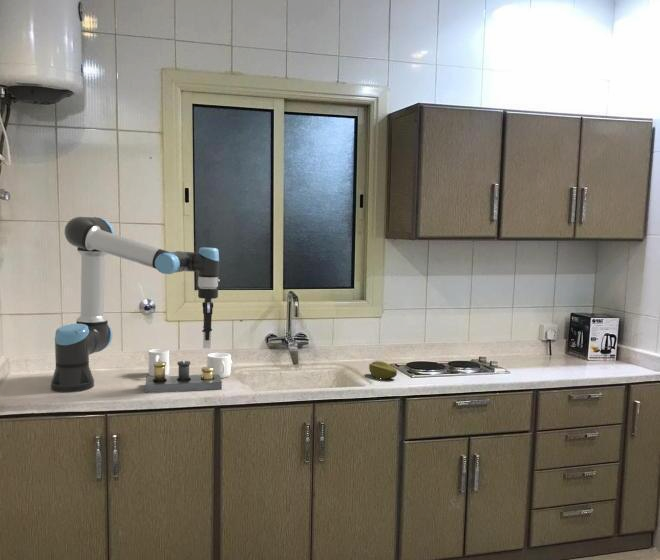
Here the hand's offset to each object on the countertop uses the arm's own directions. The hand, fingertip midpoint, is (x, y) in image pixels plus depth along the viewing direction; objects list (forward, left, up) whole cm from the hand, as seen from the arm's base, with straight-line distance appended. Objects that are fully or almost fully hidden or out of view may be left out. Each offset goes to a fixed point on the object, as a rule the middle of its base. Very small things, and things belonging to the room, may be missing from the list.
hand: (206, 347), depth 232 cm
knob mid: (-9, 0, -12) cm, 15 cm away
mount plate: (-9, 0, -15) cm, 17 cm away
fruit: (+74, +2, -15) cm, 75 cm away
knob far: (0, 0, -15) cm, 15 cm away
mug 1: (-19, +20, -15) cm, 31 cm away
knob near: (-18, 0, -12) cm, 21 cm away
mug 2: (+6, +14, -15) cm, 22 cm away
